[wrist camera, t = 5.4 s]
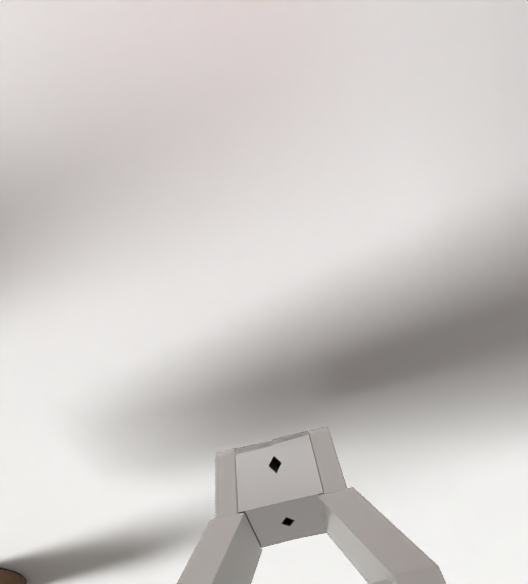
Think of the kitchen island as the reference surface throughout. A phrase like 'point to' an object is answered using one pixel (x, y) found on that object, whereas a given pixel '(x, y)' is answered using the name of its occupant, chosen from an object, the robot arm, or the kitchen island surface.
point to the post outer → (10, 577)
